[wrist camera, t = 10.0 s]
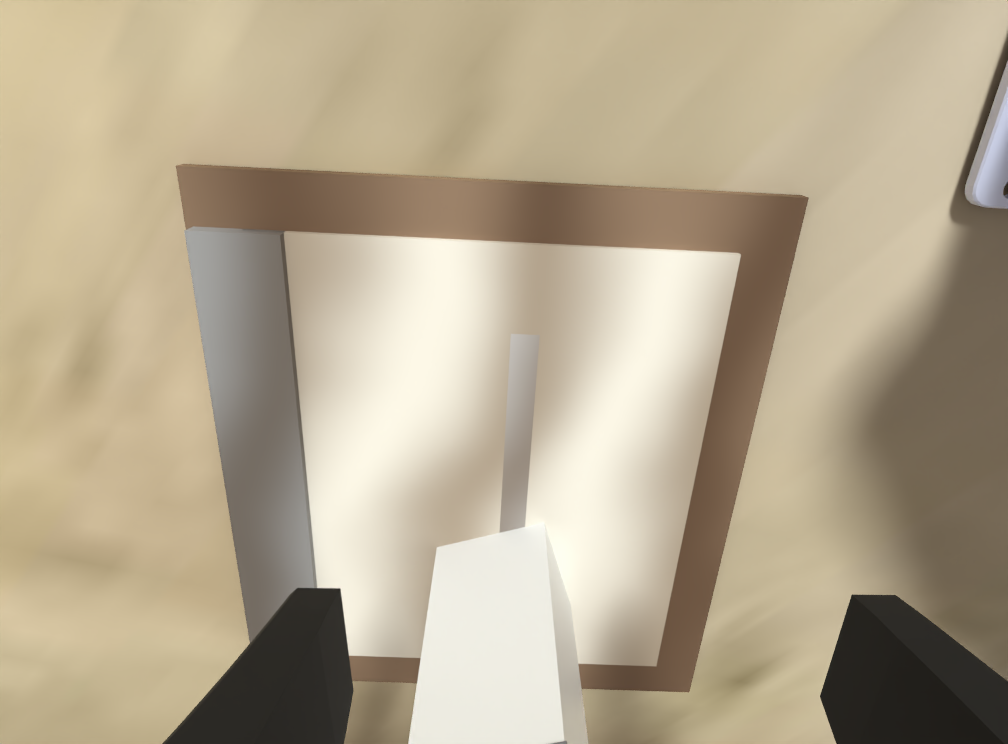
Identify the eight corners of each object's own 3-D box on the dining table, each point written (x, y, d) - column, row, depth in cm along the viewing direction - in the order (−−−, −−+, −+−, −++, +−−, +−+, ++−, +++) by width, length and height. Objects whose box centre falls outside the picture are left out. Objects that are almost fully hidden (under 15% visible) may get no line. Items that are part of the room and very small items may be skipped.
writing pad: (801, 195, 17) (817, 201, 16) (686, 682, 24) (692, 704, 23) (183, 164, 16) (166, 168, 15) (260, 668, 24) (251, 689, 23)
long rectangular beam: (545, 521, 20) (574, 820, 12) (572, 605, 22) (614, 925, 13) (434, 546, 21) (388, 853, 12) (468, 628, 22) (447, 950, 14)
